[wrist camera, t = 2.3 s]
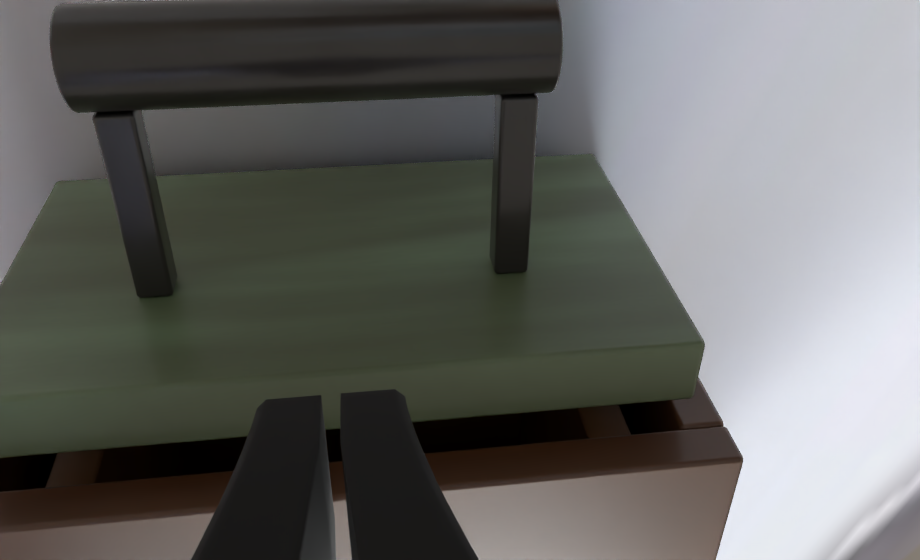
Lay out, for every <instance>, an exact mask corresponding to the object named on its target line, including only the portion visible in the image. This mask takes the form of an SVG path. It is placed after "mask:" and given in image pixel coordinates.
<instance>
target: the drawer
mask: <svg viewBox="0 0 920 560" xmlns="http://www.w3.org/2000/svg"><path fill="white" fill-rule="evenodd" d="M49 40H50V53H51V60H52V66H53V71H54V75H55V79H56V82H57V85H58V88H59V91H60V93H61V95H62V97H63V99H64V101H65V103H66V105H67V106H68V107H69V108H70V109H71V110H72V111H74V112H77V113H89V112H95V113H94V115H93V123H94V127H95V131H96V135H97V139H98V143H99V147H100V151H101V155H102V159H103V163H104V167H105V171H106V175H107V179H90V180H71V181H59V182H56V184H55V186H54V187H53V189H52V191H51V193H50V195H49V197H48V198H47V200H46V202H45V204H44V206H43V207H42V209H41V211H40V213H39V215H38V217H37V218H36V220H35V222H34V224H33V226H32V228H31V229H30V231H29V233H28V235H27V237H26V239H25V240H24V242H23V244H22V246H21V248H20V250H19V251H18V253H17V255H16V257H15V259H14V261H13V262H12V264H11V266H10V268H9V270H8V272H7V273H6V275H5V277H4V279H3V281H2V283H1V284H0V458H7V457H18V456H30V455H41V454H53V453H57V455H56V458H55V461H54V464H53V466H52V469H51V472H50V475H49V478H48V481H47V484H46V486H45V488H47V487H58V486H70V485H81V484H92V483H103V482H114V481H125V480H136V479H147V478H158V477H169V476H180V475H191V474H202V473H213V472H224V471H234V469H235V467H236V464H237V462H238V460H239V457H240V455H241V452H242V450H243V447H244V445H245V442H246V439H247V437H248V434H249V431H250V428H251V426H252V423H253V419H254V416H255V413H256V410H257V408H258V407H259V406H260V405H261V404H262V403H263V402H264V401H265V400H266V399H278V398H291V397H303V396H315V395H321V398H322V407H323V416H324V425H325V434H326V443H327V452H328V461H329V462H334V461H342V453H341V443H340V398H341V393H352V392H364V391H376V390H389V389H396V390H397V391H398V392H400V393H401V394H403V395H404V396H405V399H406V404H407V408H408V411H409V414H410V417H411V421H412V424H413V427H414V429H415V432H416V435H417V437H418V440H419V442H420V445H421V447H422V450H423V452H424V453H434V452H445V451H456V450H467V449H478V448H489V447H500V446H511V445H522V444H533V443H544V442H555V441H566V440H577V439H588V438H599V437H610V436H621V435H631V433H630V431H629V428H628V426H627V424H626V421H625V419H624V416H623V414H622V412H621V409H620V407H619V405H621V404H632V403H644V402H655V401H667V400H679V399H690V398H692V397H693V396H694V392H695V388H696V383H697V379H698V374H699V370H700V365H701V361H702V356H703V352H704V347H705V343H704V341H703V339H702V337H701V335H700V334H699V332H698V330H697V329H696V327H695V325H694V324H693V322H692V320H691V319H690V317H689V315H688V313H687V312H686V310H685V308H684V307H683V305H682V303H681V302H680V300H679V298H678V296H677V295H676V293H675V291H674V290H673V288H672V286H671V285H670V283H669V281H668V280H667V278H666V276H665V274H664V273H663V271H662V269H661V268H660V266H659V264H658V263H657V261H656V259H655V258H654V256H653V254H652V252H651V251H650V249H649V247H648V246H647V244H646V242H645V241H644V239H643V237H642V236H641V234H640V232H639V230H638V229H637V227H636V225H635V224H634V222H633V220H632V219H631V217H630V215H629V214H628V212H627V210H626V208H625V207H624V205H623V203H622V202H621V200H620V198H619V197H618V195H617V193H616V191H615V190H614V188H613V186H612V185H611V183H610V181H609V180H608V178H607V176H606V175H605V173H604V171H603V169H602V168H601V166H600V164H599V163H598V161H597V159H596V158H595V156H594V155H593V154H576V155H557V156H538V157H535V149H536V134H537V118H538V103H539V99H538V97H537V95H536V93H550V92H552V91H554V90H555V88H556V86H557V84H558V81H559V77H560V73H561V67H562V58H563V26H562V17H561V11H560V6H559V2H558V0H160V1H125V2H90V3H62V4H59V5H57V6H56V7H55V8H54V10H53V13H52V16H51V21H50V33H49ZM486 95H495V115H494V144H493V159H479V160H460V161H440V162H421V163H401V164H382V165H363V166H343V167H324V168H304V169H285V170H265V171H246V172H226V173H207V174H187V175H168V176H156V174H155V170H154V165H153V160H152V156H151V151H150V146H149V142H148V137H147V132H146V128H145V123H144V118H143V114H142V110H159V109H183V108H206V107H229V106H253V105H276V104H299V103H323V102H346V101H369V100H393V99H416V98H440V97H463V96H486Z"/></svg>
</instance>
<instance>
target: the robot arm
mask: <svg viewBox="0 0 920 560" xmlns="http://www.w3.org/2000/svg"><path fill="white" fill-rule="evenodd" d="M340 443H341V453H342V463H343V473H344V484H345V494H346V504H347V514H348V525H349V535H350V545H351V555H352V560H479V559H478V557H477V555H476V553H475V552H474V550H473V548H472V547H471V545H470V543H469V541H468V539H467V538H466V536H465V534H464V532H463V530H462V528H461V526H460V525H459V523H458V521H457V519H456V517H455V515H454V514H453V512H452V510H451V508H450V506H449V504H448V503H447V501H446V499H445V497H444V495H443V493H442V491H441V489H440V487H439V485H438V483H437V481H436V479H435V476H434V474H433V472H432V470H431V468H430V465H429V463H428V461H427V459H426V456H425V454H424V452H423V450H422V447H421V445H420V442H419V440H418V437H417V435H416V432H415V429H414V427H413V424H412V421H411V417H410V414H409V411H408V408H407V404H406V399H405V396H404V395H403V394H401V393H400V392H398V391H397V390H396V389H389V390H376V391H364V392H352V393H341V398H340ZM191 560H336V539H335V515H334V506H333V497H332V488H331V479H330V470H329V461H328V452H327V443H326V434H325V425H324V416H323V407H322V398H321V395H315V396H303V397H291V398H278V399H266V400H265V401H264V402H263V403H262V404H261V405H260V406H259V407H258V408H257V410H256V413H255V416H254V419H253V423H252V426H251V428H250V431H249V434H248V437H247V439H246V442H245V445H244V447H243V450H242V452H241V455H240V457H239V460H238V462H237V464H236V467H235V469H234V471H233V474H232V476H231V478H230V480H229V483H228V485H227V487H226V489H225V492H224V494H223V496H222V498H221V500H220V503H219V505H218V507H217V509H216V511H215V513H214V515H213V517H212V519H211V521H210V523H209V525H208V527H207V529H206V531H205V533H204V535H203V537H202V539H201V541H200V543H199V545H198V547H197V549H196V551H195V553H194V555H193V557H192V559H191Z"/></svg>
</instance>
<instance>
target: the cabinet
mask: <svg viewBox="0 0 920 560" xmlns="http://www.w3.org/2000/svg"><path fill="white" fill-rule="evenodd" d="M619 407H620V409H621V412H622V414H623V416H624V419H625V421H626V424H627V426H628V428H629V431H630V433H631V435H621V436H610V437H599V438H588V439H577V440H566V441H555V442H544V443H533V444H522V445H511V446H500V447H489V448H478V449H467V450H456V451H445V452H434V453H424V454H425V456H426V459H427V461H428V463H429V465H430V468H431V470H432V472H433V474H434V476H435V479H436V481H437V483H438V485H439V487H440V489H441V491H442V493H443V495H444V497H445V499H446V501H447V503H448V504H449V506H450V508H451V510H452V512H453V514H454V515H455V517H456V519H457V521H458V523H459V525H460V526H461V528H462V530H463V532H464V534H465V536H466V538H467V539H468V541H469V543H470V545H471V547H472V548H473V550H474V552H475V553H476V555H477V557H478V559H479V560H716V556H717V553H718V549H719V545H720V542H721V538H722V535H723V531H724V528H725V524H726V520H727V517H728V513H729V510H730V506H731V503H732V499H733V495H734V492H735V488H736V485H737V481H738V478H739V474H740V470H741V467H742V463H743V457H742V455H741V453H740V451H739V449H738V448H737V446H736V444H735V442H734V440H733V439H732V437H731V435H730V433H729V431H728V430H727V428H726V427H723V421H722V419H721V417H720V416H719V414H718V412H717V410H716V408H715V407H714V405H713V403H712V401H711V399H710V397H709V396H708V394H707V392H706V390H705V388H704V387H703V385H702V383H701V381H700V379H699V378H698V379H697V383H696V388H695V392H694V396H693V397H692V398H690V399H679V400H667V401H655V402H644V403H632V404H621V405H619ZM56 455H57V453H53V454H41V455H30V456H18V457H7V458H0V560H191V559H192V557H193V555H194V553H195V551H196V549H197V547H198V545H199V543H200V541H201V539H202V537H203V535H204V533H205V531H206V529H207V527H208V525H209V523H210V521H211V519H212V517H213V515H214V513H215V511H216V509H217V507H218V505H219V503H220V500H221V498H222V496H223V494H224V492H225V489H226V487H227V485H228V483H229V480H230V478H231V476H232V474H233V471H224V472H213V473H202V474H191V475H180V476H169V477H158V478H147V479H136V480H125V481H114V482H103V483H92V484H81V485H70V486H58V487H47V488H45V486H46V484H47V481H48V478H49V475H50V472H51V469H52V466H53V464H54V461H55V458H56ZM329 470H330V479H331V488H332V497H333V506H334V515H335V539H336V560H352V555H351V545H350V535H349V525H348V514H347V504H346V494H345V484H344V473H343V463H342V461H334V462H329Z"/></svg>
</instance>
